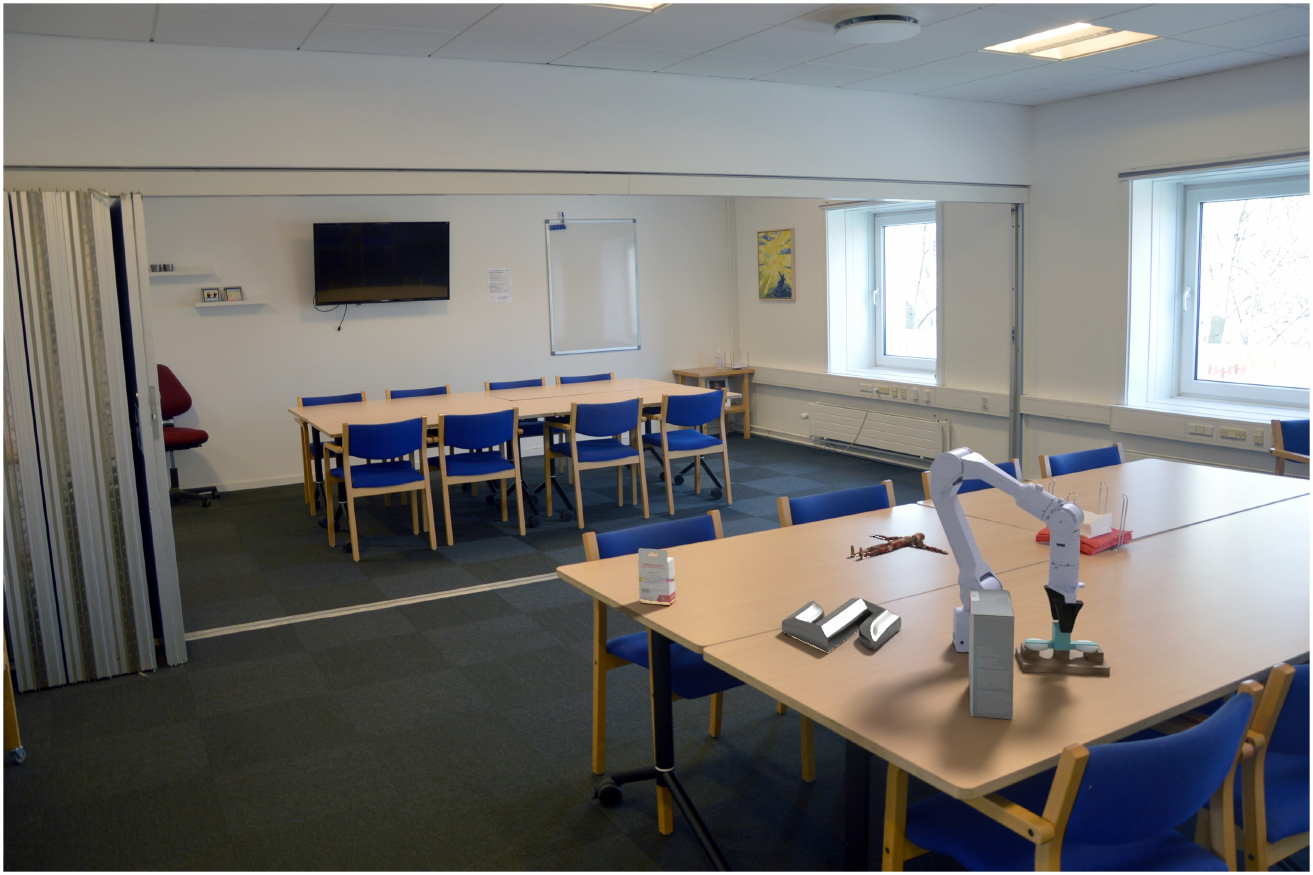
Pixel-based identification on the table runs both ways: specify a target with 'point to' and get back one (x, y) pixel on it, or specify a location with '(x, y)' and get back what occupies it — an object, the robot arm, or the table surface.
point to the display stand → (1062, 661)
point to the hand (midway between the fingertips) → (1061, 625)
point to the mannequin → (896, 545)
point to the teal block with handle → (1061, 642)
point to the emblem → (842, 624)
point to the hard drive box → (991, 653)
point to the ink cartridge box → (656, 576)
